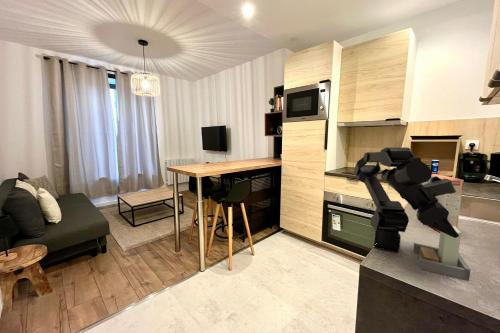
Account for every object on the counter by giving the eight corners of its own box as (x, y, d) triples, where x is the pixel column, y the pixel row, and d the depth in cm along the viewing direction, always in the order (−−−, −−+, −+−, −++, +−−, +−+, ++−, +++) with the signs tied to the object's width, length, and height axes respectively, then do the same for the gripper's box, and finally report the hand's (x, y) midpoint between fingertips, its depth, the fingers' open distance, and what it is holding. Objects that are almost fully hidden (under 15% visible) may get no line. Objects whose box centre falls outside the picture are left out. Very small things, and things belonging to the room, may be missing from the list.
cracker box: (458, 234, 78) (465, 179, 76) (439, 233, 80) (445, 178, 77) (433, 220, 92) (438, 173, 89) (418, 219, 93) (422, 173, 91)
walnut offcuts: (423, 267, 59) (424, 257, 58) (418, 255, 65) (419, 246, 65) (439, 271, 57) (441, 261, 56) (433, 258, 63) (434, 249, 63)
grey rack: (418, 268, 58) (419, 257, 58) (413, 250, 67) (414, 241, 67) (468, 280, 53) (470, 269, 52) (455, 259, 62) (456, 250, 62)
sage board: (441, 268, 58) (445, 230, 56) (437, 259, 62) (441, 224, 61) (456, 272, 56) (461, 233, 55) (450, 262, 60) (455, 226, 59)
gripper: (441, 173, 50) (502, 227, 46) (427, 164, 66) (472, 204, 62) (398, 200, 56) (449, 251, 51) (395, 186, 71) (434, 224, 67)
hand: (452, 230), depth 58 cm, fingers open, 9 cm apart
